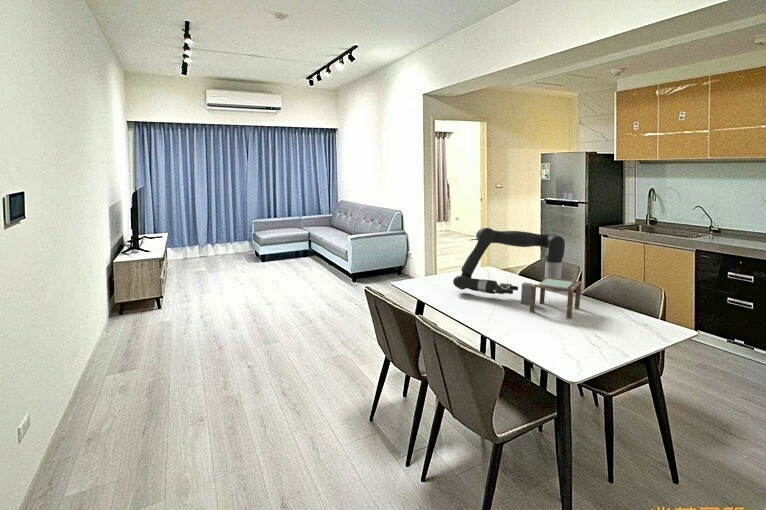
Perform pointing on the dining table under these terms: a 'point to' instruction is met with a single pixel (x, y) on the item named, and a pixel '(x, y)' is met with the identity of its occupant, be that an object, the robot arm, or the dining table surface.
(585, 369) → the dining table surface
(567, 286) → the trapdoor
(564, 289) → the trapdoor frame
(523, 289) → the grey rectangular block
